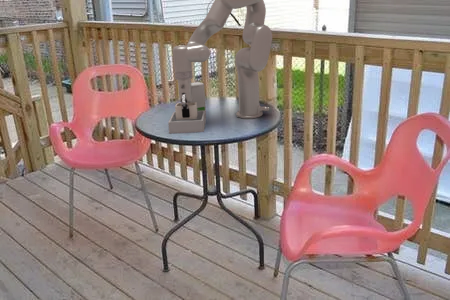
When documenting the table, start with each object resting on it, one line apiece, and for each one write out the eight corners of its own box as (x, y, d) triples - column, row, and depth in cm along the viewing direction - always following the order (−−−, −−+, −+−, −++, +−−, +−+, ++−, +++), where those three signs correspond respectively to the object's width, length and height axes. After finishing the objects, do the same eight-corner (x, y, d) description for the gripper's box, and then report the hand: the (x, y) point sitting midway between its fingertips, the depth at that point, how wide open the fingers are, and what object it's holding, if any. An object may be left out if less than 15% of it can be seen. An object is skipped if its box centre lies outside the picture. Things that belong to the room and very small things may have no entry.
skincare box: (191, 117, 207) (188, 86, 201) (185, 114, 212) (183, 83, 207) (206, 114, 210) (204, 83, 204) (201, 111, 216) (198, 81, 210)
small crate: (197, 115, 194) (196, 102, 192) (196, 118, 189) (195, 105, 187) (177, 115, 195) (176, 103, 193) (176, 119, 189) (175, 106, 187)
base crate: (206, 120, 201) (205, 110, 199) (203, 131, 186) (202, 120, 184) (174, 122, 201) (173, 112, 199) (169, 133, 186) (168, 122, 184)
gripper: (190, 78, 177) (193, 120, 183) (194, 71, 193) (196, 109, 199) (172, 79, 177) (176, 121, 183) (177, 71, 193) (180, 110, 200)
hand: (186, 114), depth 191 cm, fingers closed on small crate, 6 cm apart
